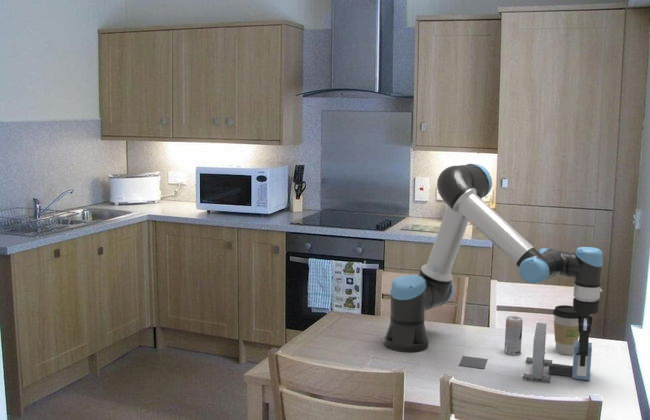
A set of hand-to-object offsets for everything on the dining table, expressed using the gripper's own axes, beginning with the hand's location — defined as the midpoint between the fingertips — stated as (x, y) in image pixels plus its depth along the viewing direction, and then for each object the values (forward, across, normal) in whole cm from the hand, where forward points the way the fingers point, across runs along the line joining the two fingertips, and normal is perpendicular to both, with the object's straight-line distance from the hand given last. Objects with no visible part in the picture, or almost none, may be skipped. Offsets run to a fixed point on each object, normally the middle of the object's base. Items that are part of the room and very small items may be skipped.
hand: (581, 371), depth 220 cm
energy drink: (+2, +14, +22) cm, 26 cm away
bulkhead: (+2, 0, +13) cm, 13 cm away
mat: (+2, 0, +33) cm, 33 cm away
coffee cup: (+2, +22, +5) cm, 23 cm away
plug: (+1, 0, +4) cm, 4 cm away
